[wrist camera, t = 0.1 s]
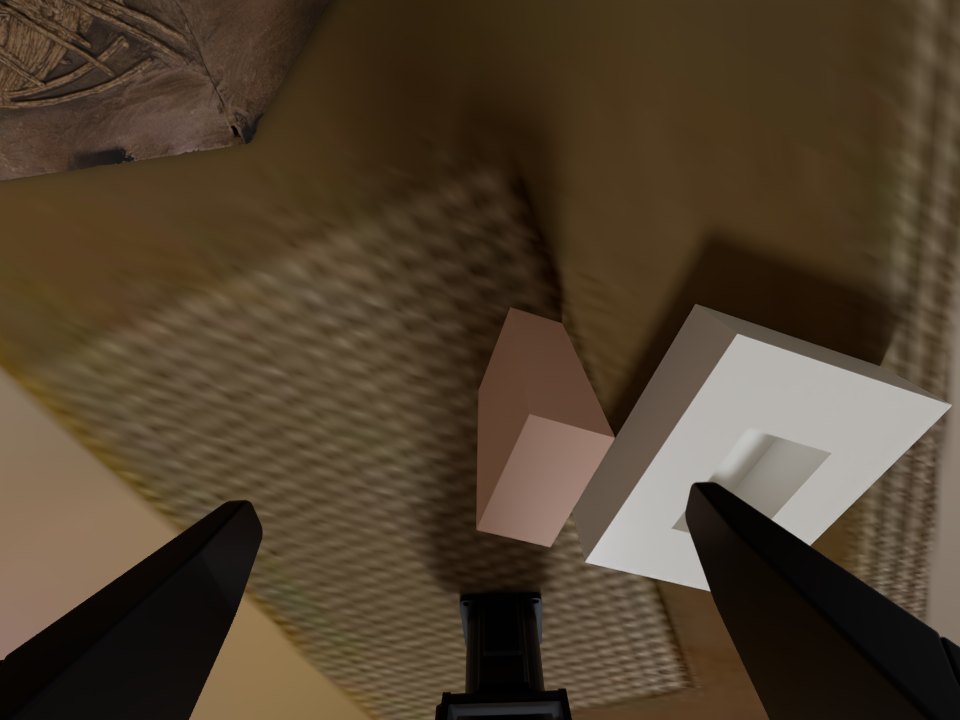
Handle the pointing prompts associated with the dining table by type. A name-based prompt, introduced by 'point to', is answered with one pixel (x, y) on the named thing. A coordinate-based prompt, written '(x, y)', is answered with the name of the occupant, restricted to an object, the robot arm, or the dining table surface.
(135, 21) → the wooden fragment
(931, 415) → the white slotted block
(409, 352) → the dining table surface
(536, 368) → the pink rectangular block
